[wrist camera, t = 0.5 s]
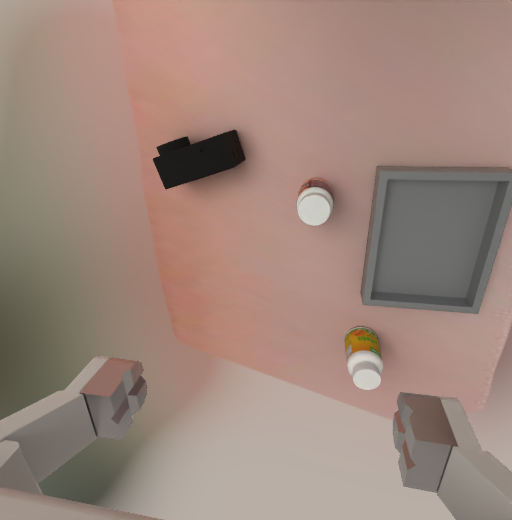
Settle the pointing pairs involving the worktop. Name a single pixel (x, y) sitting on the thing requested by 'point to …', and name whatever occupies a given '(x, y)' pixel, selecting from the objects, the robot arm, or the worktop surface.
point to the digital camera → (197, 158)
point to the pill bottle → (315, 201)
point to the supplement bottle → (363, 357)
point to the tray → (434, 236)
